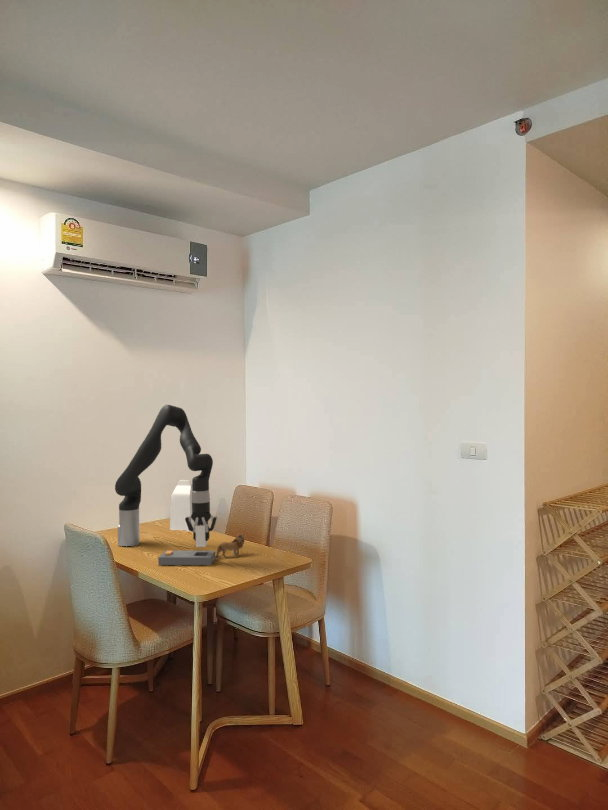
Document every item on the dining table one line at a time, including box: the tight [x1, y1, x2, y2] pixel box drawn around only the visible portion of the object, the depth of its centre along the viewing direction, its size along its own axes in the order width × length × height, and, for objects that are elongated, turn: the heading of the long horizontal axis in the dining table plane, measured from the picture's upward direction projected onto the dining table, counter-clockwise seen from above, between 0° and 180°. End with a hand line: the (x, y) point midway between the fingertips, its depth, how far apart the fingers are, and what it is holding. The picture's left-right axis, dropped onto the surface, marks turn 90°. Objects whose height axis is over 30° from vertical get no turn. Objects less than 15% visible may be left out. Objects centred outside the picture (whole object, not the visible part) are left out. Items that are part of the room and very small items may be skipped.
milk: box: [169, 479, 195, 532], centre depth 290 cm, size 12×12×26 cm
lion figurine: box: [215, 533, 246, 559], centre depth 238 cm, size 15×5×9 cm, turn 127°
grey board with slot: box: [157, 550, 216, 567], centre depth 230 cm, size 22×10×4 cm, turn 88°
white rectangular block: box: [195, 524, 208, 548], centre depth 230 cm, size 4×4×9 cm
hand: (201, 540), depth 230 cm, fingers closed on white rectangular block, 4 cm apart
